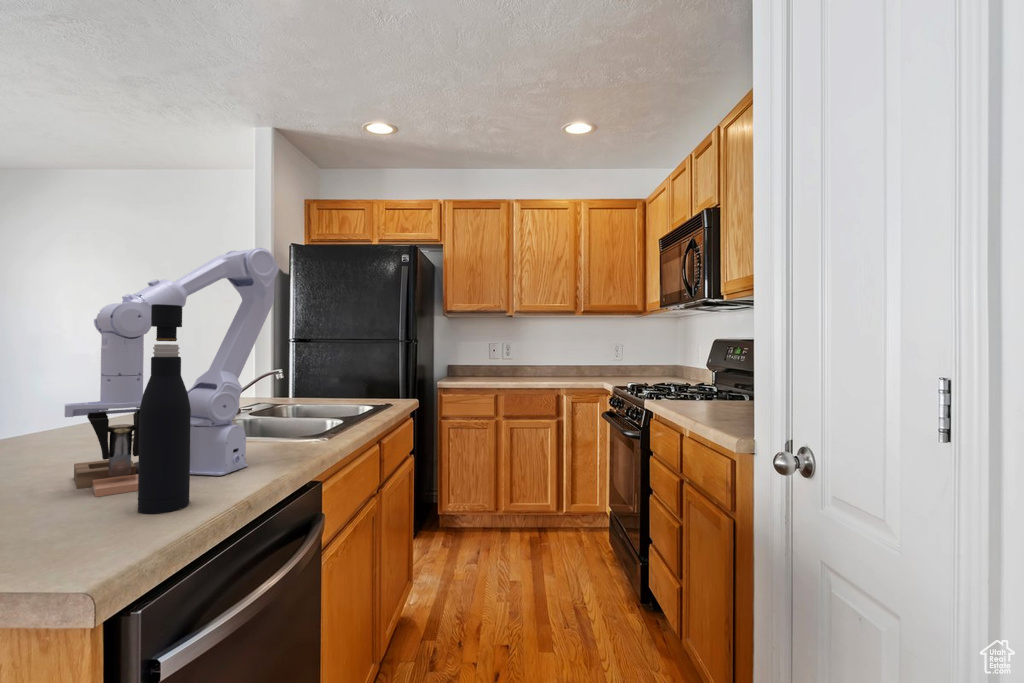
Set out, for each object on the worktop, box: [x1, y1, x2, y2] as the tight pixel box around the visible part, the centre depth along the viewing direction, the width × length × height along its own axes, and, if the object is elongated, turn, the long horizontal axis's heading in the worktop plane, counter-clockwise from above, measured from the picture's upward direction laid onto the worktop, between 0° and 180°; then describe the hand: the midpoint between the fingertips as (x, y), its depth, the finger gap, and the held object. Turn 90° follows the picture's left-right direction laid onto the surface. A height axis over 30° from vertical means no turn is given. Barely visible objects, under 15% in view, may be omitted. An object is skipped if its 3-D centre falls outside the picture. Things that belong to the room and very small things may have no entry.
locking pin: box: [108, 423, 135, 477], centre depth 88 cm, size 4×4×8 cm
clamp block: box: [73, 459, 139, 490], centre depth 94 cm, size 9×10×2 cm
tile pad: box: [91, 474, 138, 497], centre depth 88 cm, size 7×7×1 cm
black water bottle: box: [137, 304, 191, 515], centre depth 78 cm, size 6×6×30 cm
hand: (121, 456), depth 88 cm, fingers closed on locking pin, 3 cm apart
